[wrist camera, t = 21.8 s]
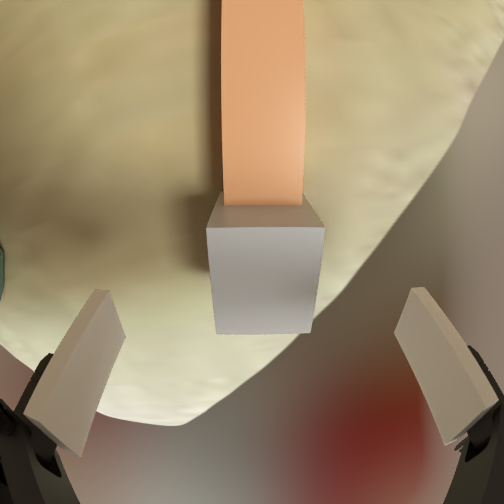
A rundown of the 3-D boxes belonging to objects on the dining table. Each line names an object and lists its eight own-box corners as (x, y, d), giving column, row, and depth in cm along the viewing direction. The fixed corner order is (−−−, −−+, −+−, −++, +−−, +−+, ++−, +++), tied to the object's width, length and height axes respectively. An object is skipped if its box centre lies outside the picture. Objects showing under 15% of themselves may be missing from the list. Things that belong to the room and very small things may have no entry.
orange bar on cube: (219, -35, 9) (208, -85, 4) (299, -34, 9) (317, -82, 4) (224, 274, 20) (216, 334, 14) (295, 274, 20) (310, 332, 14)
